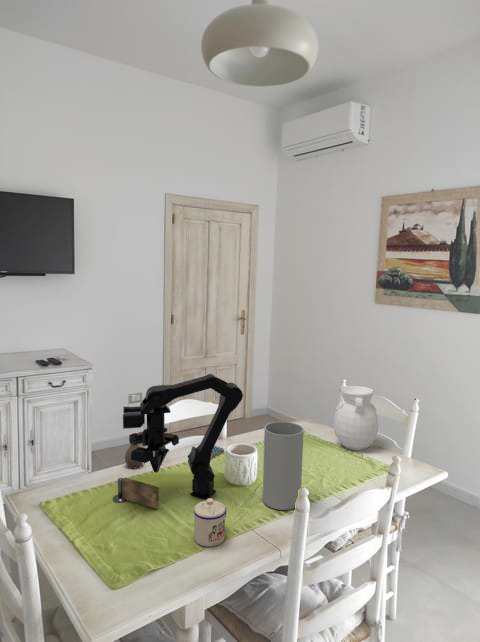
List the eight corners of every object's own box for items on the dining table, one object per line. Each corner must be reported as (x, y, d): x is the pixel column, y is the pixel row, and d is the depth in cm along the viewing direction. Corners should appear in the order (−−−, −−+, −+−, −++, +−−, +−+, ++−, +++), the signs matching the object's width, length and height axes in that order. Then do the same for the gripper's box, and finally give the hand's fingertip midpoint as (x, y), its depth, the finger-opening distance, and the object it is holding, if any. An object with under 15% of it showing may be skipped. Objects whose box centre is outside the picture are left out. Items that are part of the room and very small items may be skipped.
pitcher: (331, 436, 217) (334, 382, 214) (373, 439, 215) (376, 385, 211) (333, 453, 199) (336, 394, 196) (379, 456, 196) (383, 397, 193)
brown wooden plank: (159, 506, 152) (159, 487, 151) (155, 509, 151) (155, 489, 150) (125, 496, 158) (124, 477, 157) (120, 498, 157) (120, 479, 156)
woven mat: (189, 455, 195) (189, 450, 195) (205, 447, 204) (205, 442, 204) (209, 462, 189) (209, 457, 189) (225, 453, 198) (225, 448, 198)
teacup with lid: (211, 551, 131) (212, 511, 129) (186, 539, 136) (186, 501, 135) (237, 532, 141) (238, 494, 139) (213, 521, 146) (214, 485, 144)
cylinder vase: (275, 488, 167) (277, 419, 164) (307, 499, 160) (310, 427, 157) (255, 503, 157) (257, 429, 154) (288, 515, 150) (291, 438, 147)
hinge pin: (131, 497, 159) (131, 477, 158) (121, 504, 155) (121, 483, 154) (119, 493, 162) (119, 474, 161) (109, 500, 157) (109, 480, 156)
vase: (139, 470, 179) (139, 448, 178) (121, 468, 180) (121, 446, 179) (146, 463, 186) (146, 441, 185) (129, 461, 187) (129, 439, 186)
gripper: (152, 413, 167) (153, 456, 169) (116, 430, 151) (117, 478, 153) (179, 419, 162) (179, 463, 164) (145, 437, 146) (145, 486, 148)
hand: (155, 472), depth 158 cm, fingers closed
